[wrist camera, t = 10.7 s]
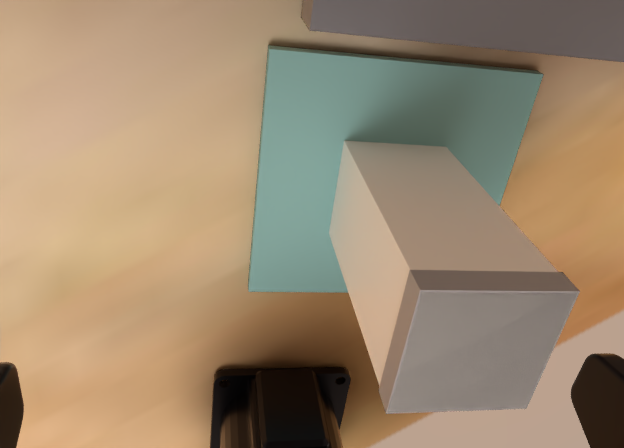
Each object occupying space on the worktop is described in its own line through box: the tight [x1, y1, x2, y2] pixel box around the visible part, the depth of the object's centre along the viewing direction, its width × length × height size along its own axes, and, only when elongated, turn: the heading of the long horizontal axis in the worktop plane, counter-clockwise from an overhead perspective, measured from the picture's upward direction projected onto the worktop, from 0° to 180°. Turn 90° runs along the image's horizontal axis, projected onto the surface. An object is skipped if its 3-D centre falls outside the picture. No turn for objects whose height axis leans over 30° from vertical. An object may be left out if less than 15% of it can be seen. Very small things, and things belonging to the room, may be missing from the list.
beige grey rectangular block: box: [329, 141, 580, 414], centre depth 18 cm, size 4×4×9 cm
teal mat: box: [248, 45, 544, 293], centre depth 22 cm, size 10×10×1 cm
